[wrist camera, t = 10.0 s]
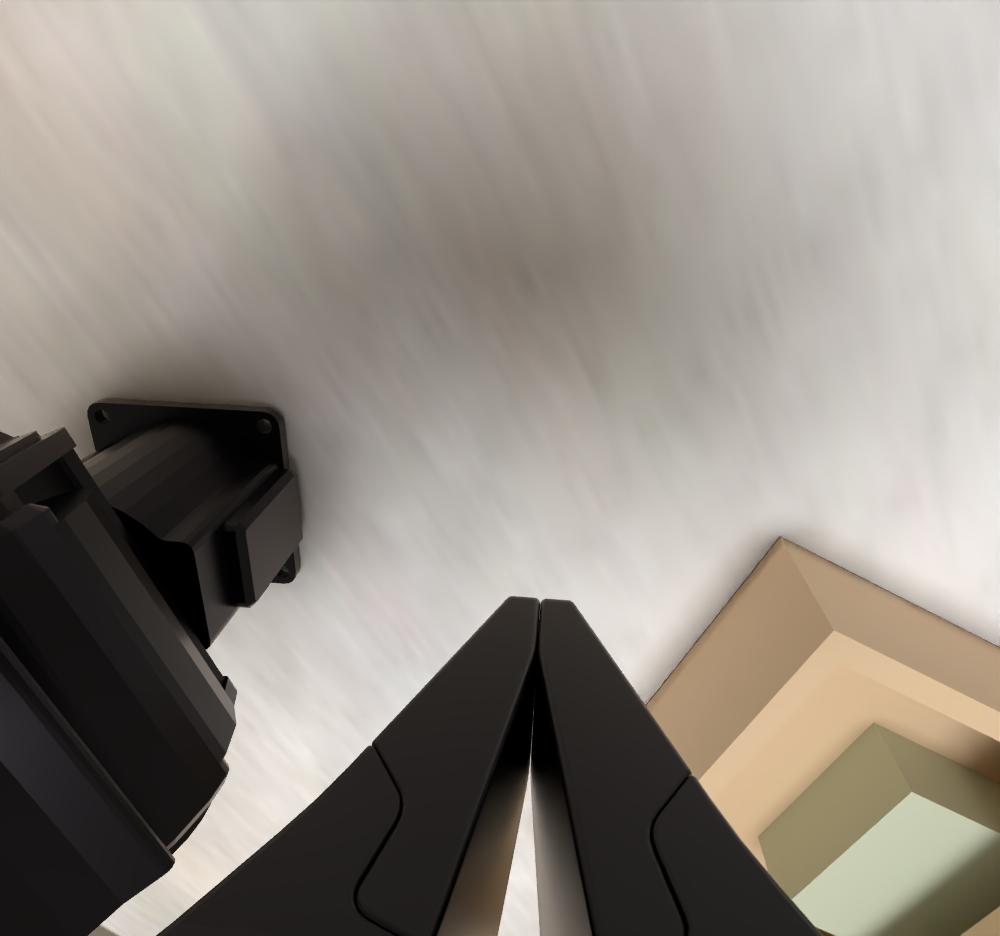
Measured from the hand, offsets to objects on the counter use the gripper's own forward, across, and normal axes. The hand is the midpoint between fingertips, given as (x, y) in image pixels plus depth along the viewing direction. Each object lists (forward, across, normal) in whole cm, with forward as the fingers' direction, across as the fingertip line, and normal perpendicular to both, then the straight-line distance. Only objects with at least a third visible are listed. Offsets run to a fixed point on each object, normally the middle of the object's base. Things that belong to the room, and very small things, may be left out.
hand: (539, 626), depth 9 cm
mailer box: (+13, -13, +17) cm, 25 cm away
